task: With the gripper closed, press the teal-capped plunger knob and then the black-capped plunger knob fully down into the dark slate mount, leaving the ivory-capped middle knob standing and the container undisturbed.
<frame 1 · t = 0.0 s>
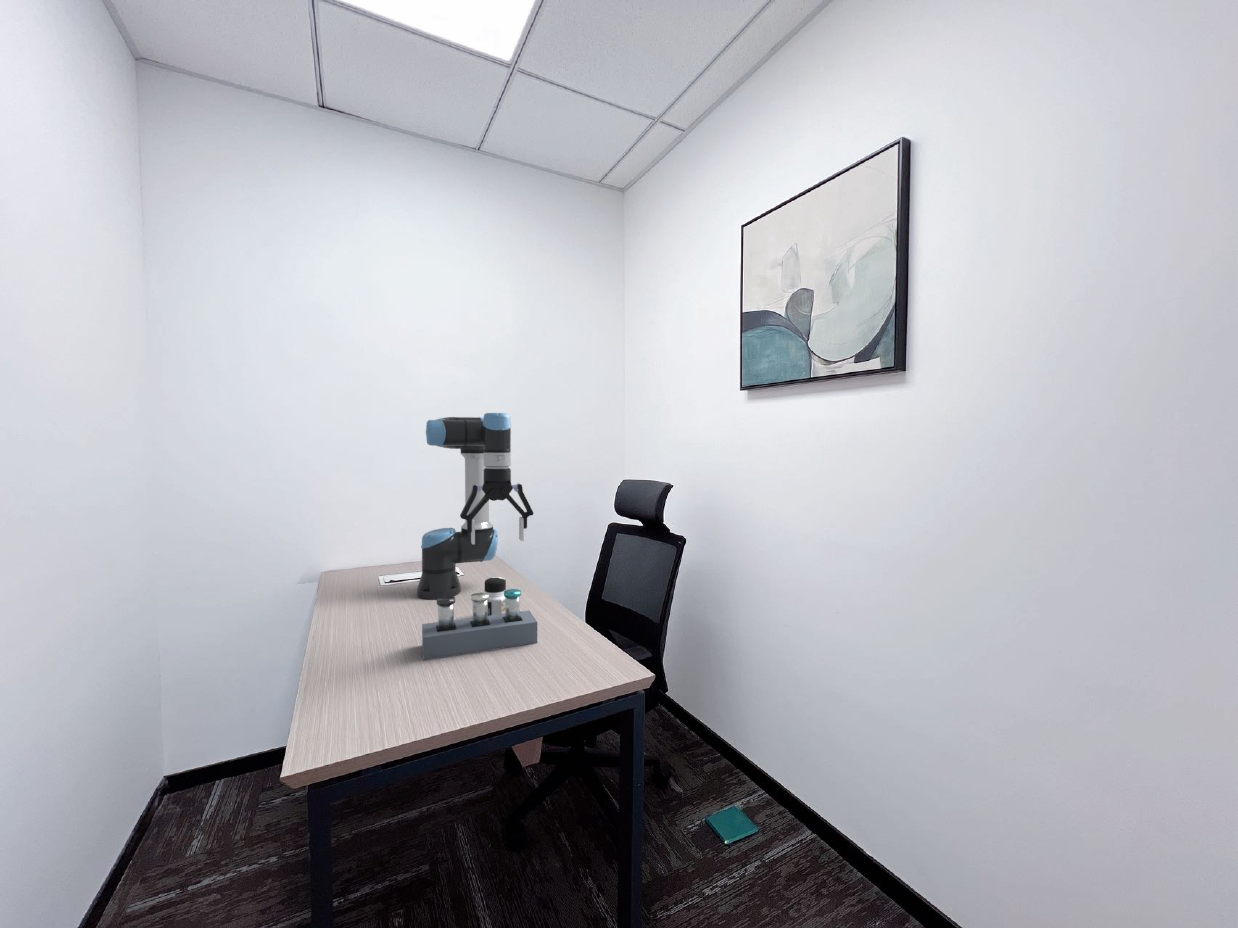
hand: (497, 541, 145), 28 cm above the table, fingers open, 13 cm apart
knob black: (446, 614, 137), point 10 cm above the table, slide at 0.0 cm
knob ivory: (480, 609, 141), point 10 cm above the table, slide at 0.0 cm
container: (495, 619, 161), on the table
mount: (480, 643, 142), on the table
knob teal: (512, 605, 144), point 10 cm above the table, slide at 0.0 cm
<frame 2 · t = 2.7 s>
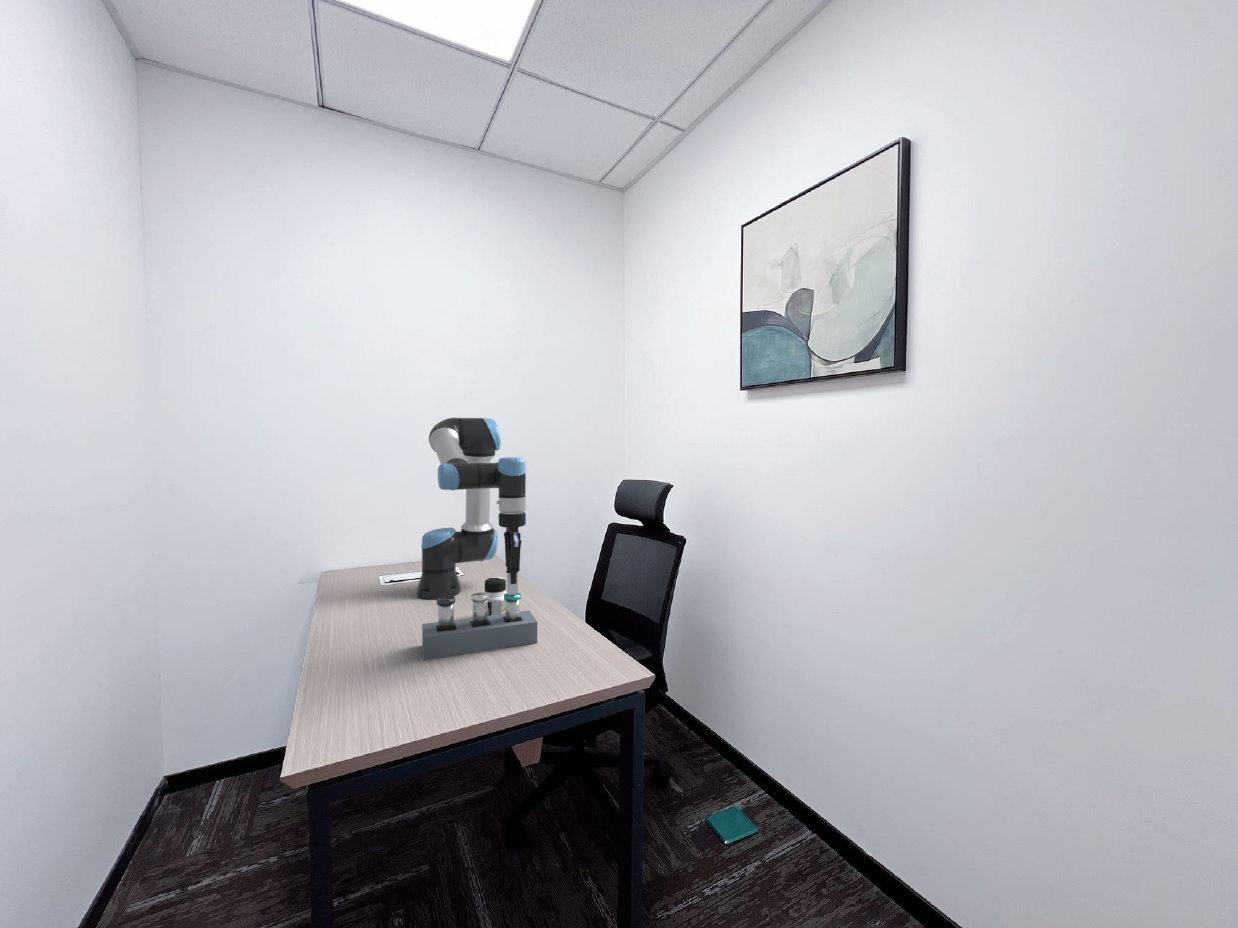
hand: (512, 594, 144), 13 cm above the table, fingers closed
knob teal: (512, 609, 144), point 9 cm above the table, slide at 1.0 cm, touching gripper
everything else where it was.
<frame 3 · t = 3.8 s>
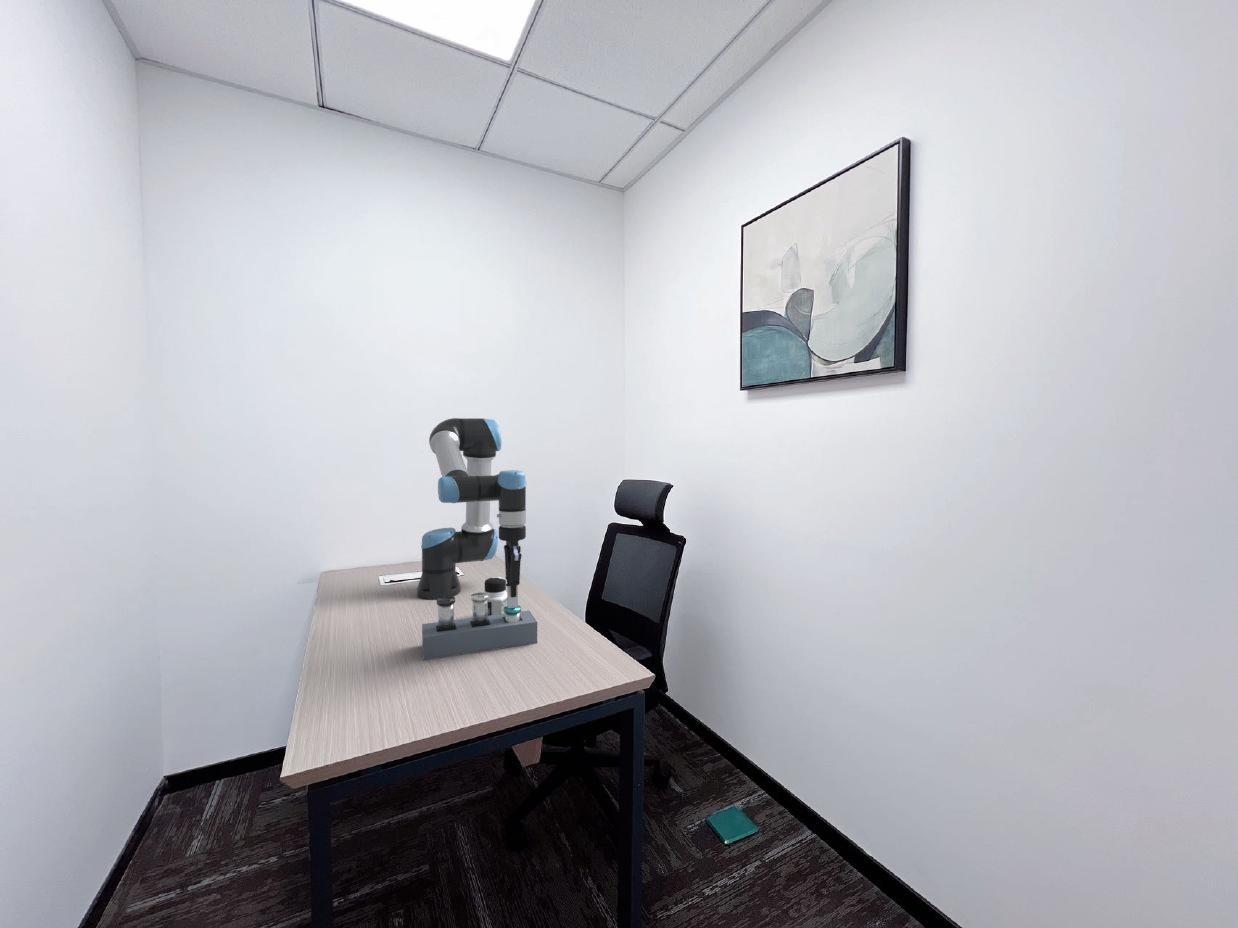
hand: (512, 606, 144), 9 cm above the table, fingers closed
knob teal: (512, 622, 145), point 5 cm above the table, slide at 4.7 cm, touching gripper
everything else where it was.
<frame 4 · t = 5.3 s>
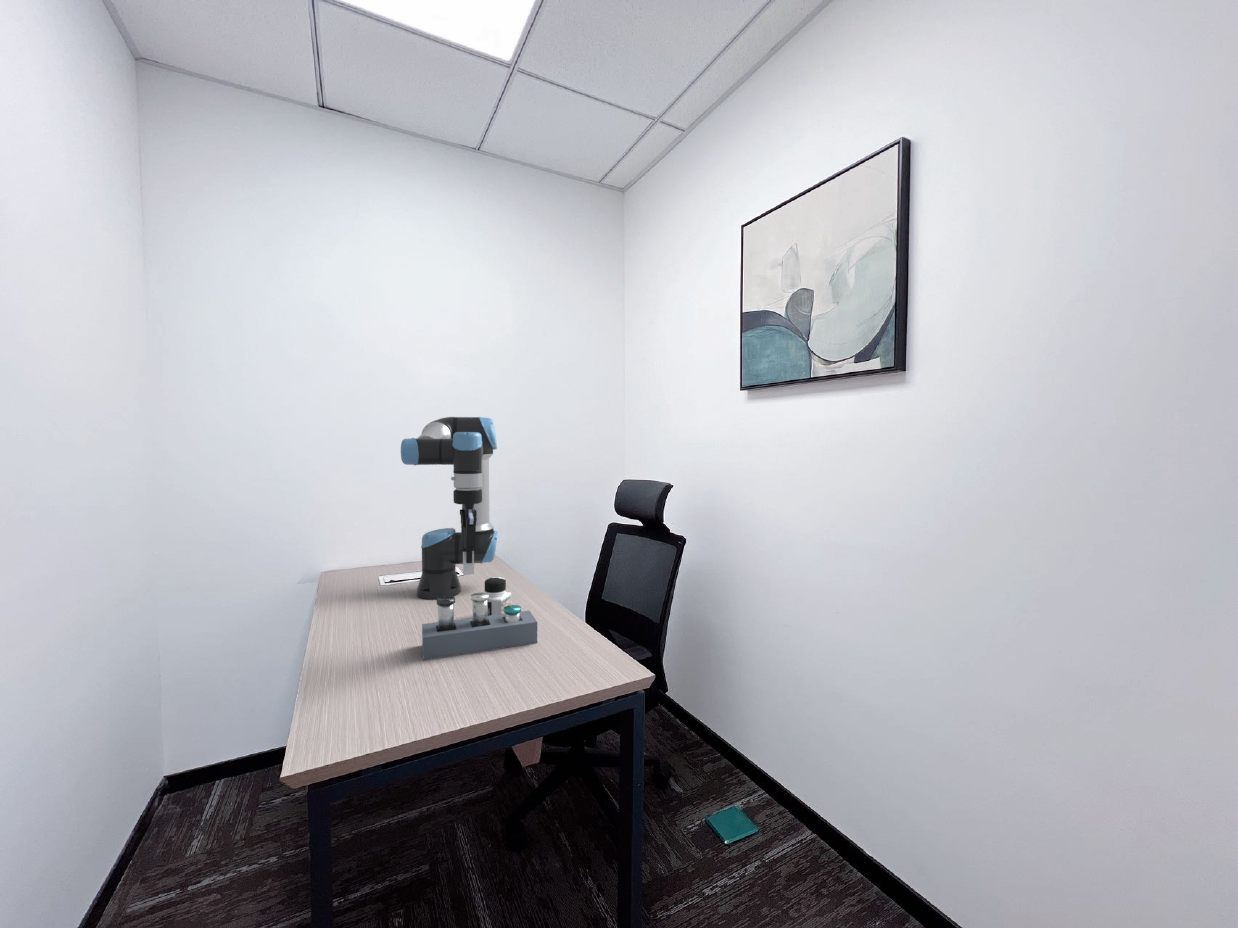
hand: (468, 573, 139), 20 cm above the table, fingers closed
knob teal: (512, 622, 145), point 5 cm above the table, slide at 4.7 cm
everything else where it was.
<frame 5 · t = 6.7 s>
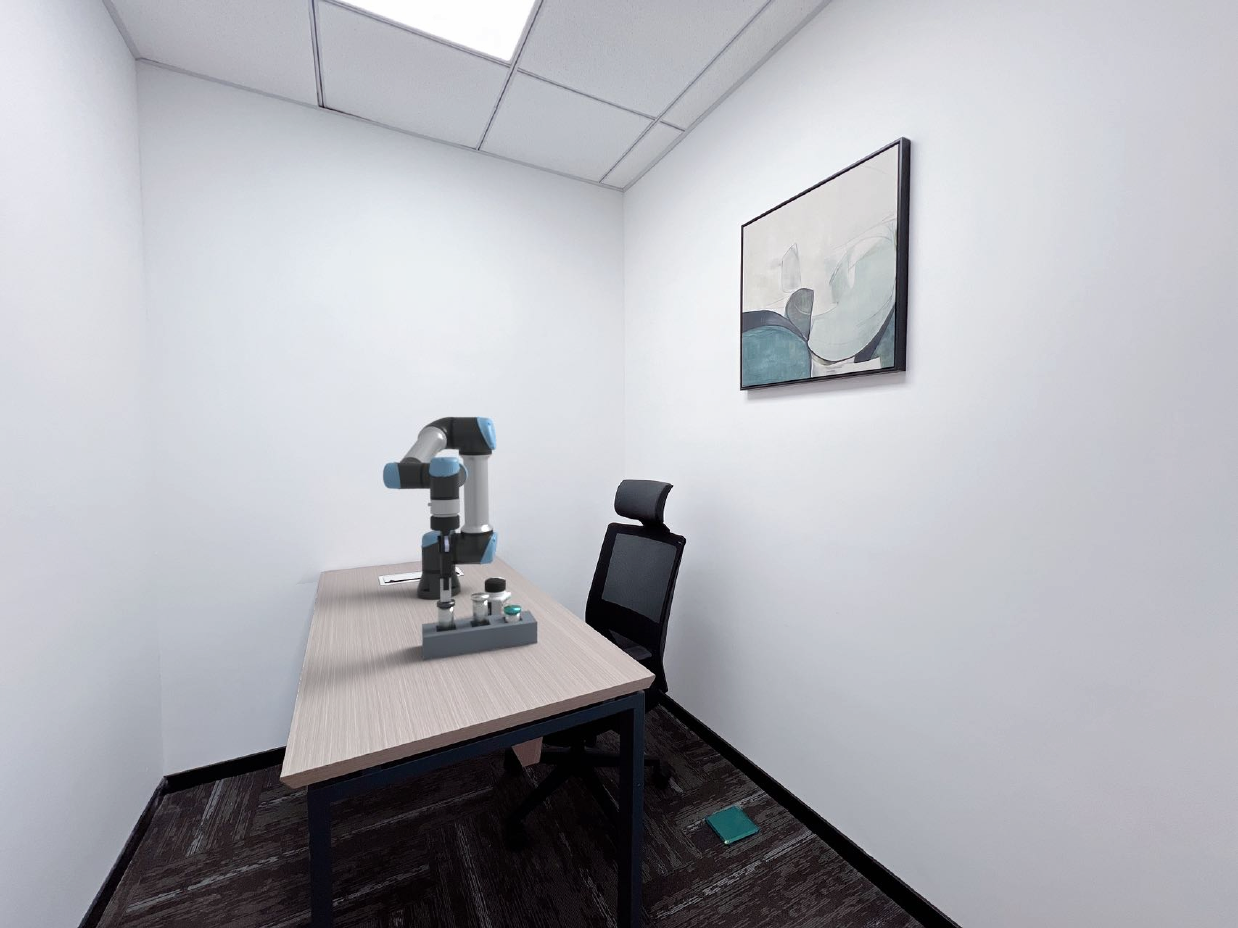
hand: (445, 600, 137), 13 cm above the table, fingers closed
knob black: (446, 616, 138), point 9 cm above the table, slide at 0.7 cm, touching gripper
everything else where it was.
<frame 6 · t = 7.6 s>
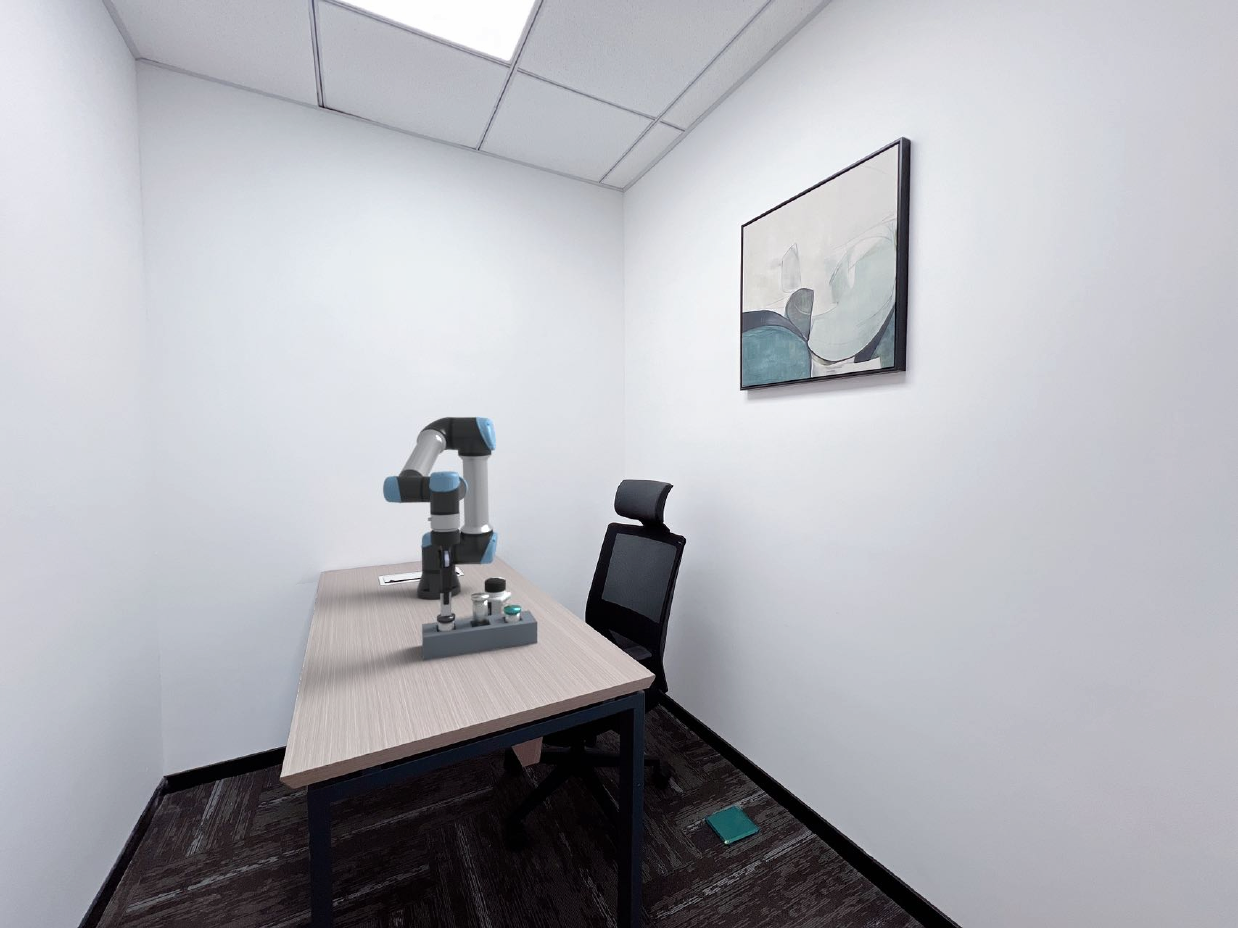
hand: (446, 614, 137), 10 cm above the table, fingers closed
knob black: (446, 630, 138), point 5 cm above the table, slide at 4.7 cm, touching gripper
everything else where it was.
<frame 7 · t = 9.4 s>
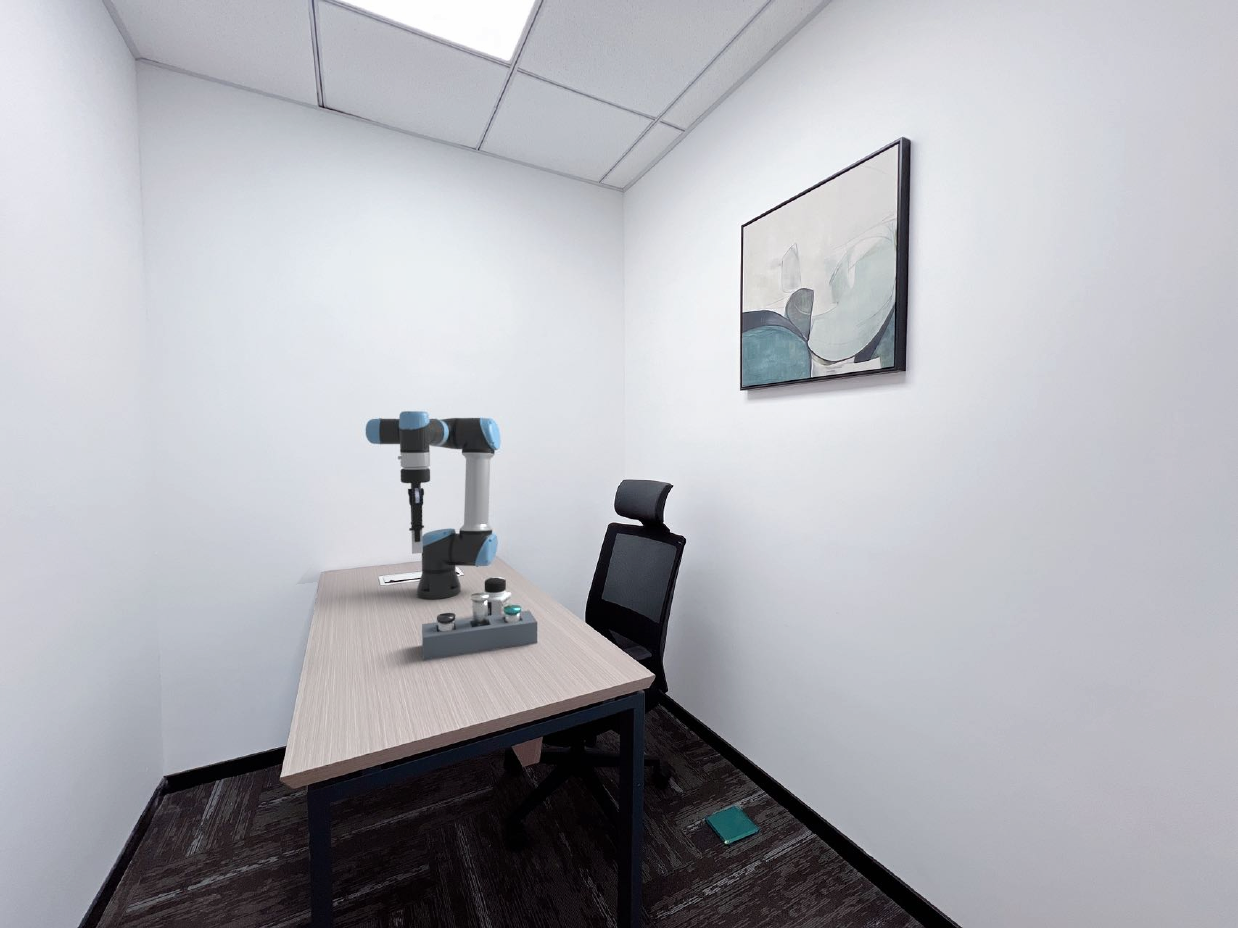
hand: (417, 552, 140), 26 cm above the table, fingers closed
knob black: (446, 630, 138), point 5 cm above the table, slide at 4.7 cm
everything else where it was.
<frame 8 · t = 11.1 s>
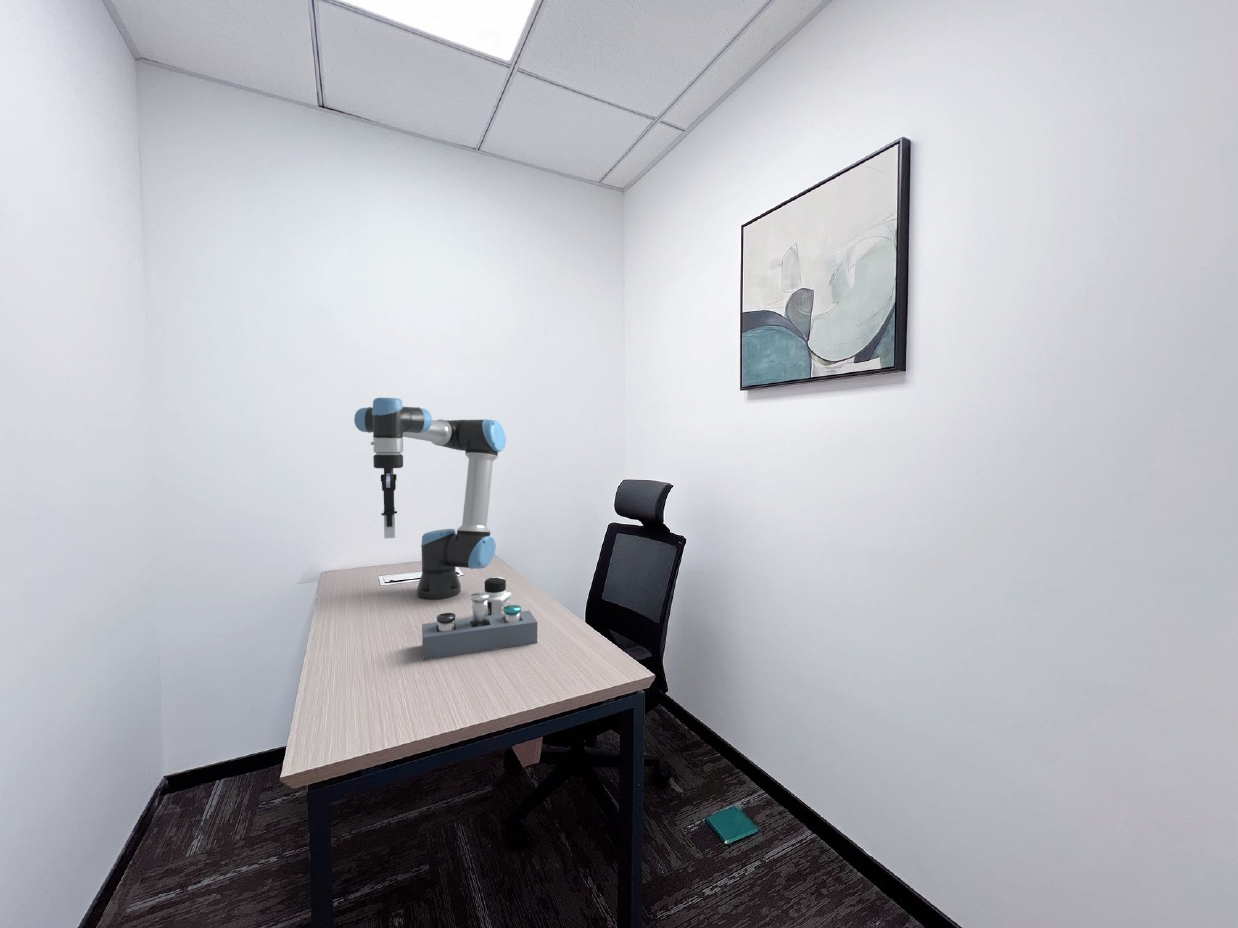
hand: (389, 537, 142), 29 cm above the table, fingers closed
nothing on the table moved.
at the end: knob teal slide at 4.7 cm; knob black slide at 4.7 cm; knob ivory slide at 0.0 cm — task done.
